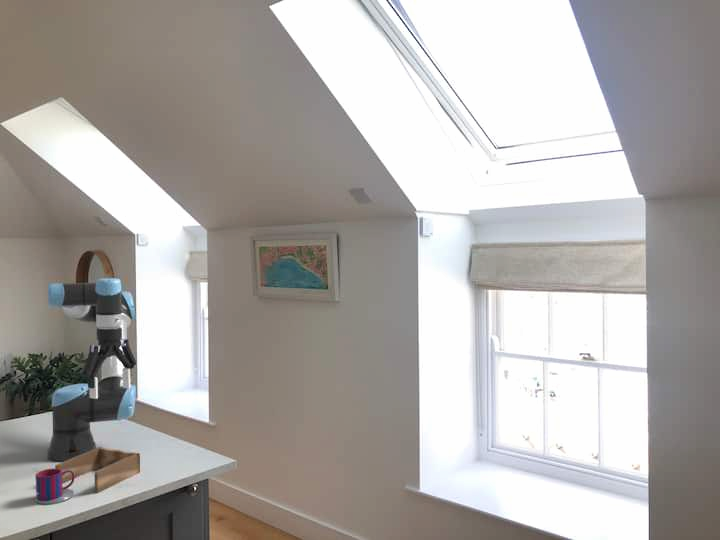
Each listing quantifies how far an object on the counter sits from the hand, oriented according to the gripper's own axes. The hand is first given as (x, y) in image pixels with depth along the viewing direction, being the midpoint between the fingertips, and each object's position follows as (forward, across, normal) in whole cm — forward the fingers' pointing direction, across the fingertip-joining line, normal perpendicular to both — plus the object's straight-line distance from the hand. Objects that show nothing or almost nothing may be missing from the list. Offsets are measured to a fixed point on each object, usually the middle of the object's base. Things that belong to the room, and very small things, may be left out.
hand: (110, 393), depth 205 cm
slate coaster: (+24, -25, -3) cm, 35 cm away
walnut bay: (+24, -9, -4) cm, 26 cm away
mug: (+24, -24, -4) cm, 34 cm away
